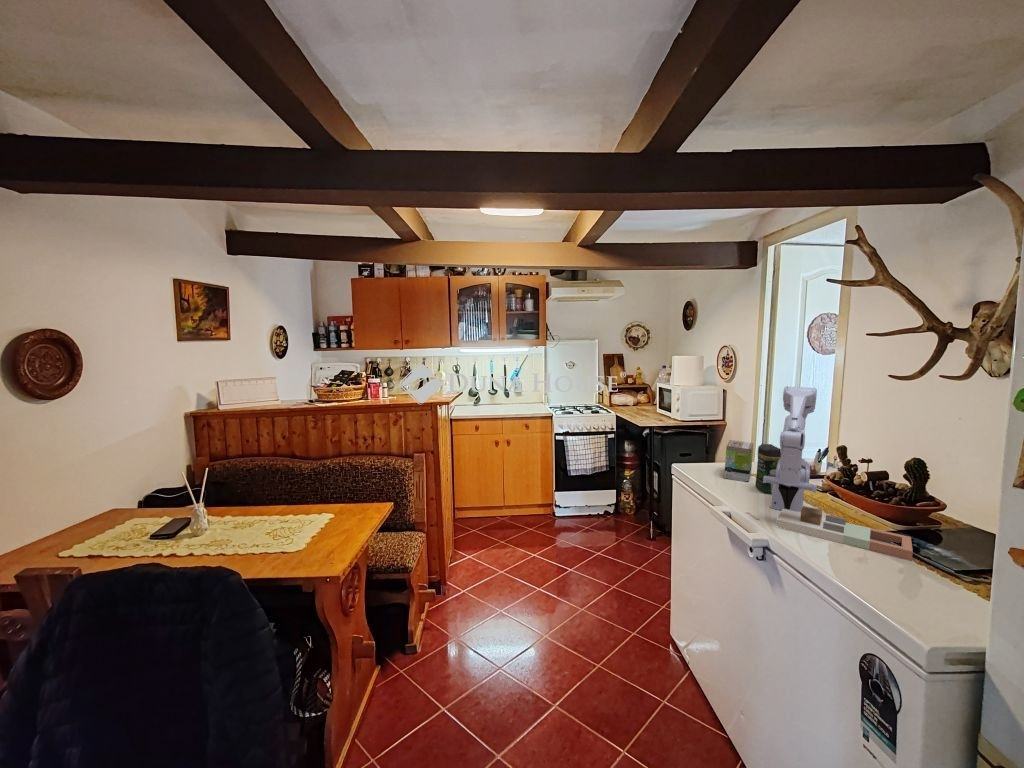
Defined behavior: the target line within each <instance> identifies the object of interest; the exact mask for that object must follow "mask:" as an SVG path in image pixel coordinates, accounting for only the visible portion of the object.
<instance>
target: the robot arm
mask: <svg viewBox="0 0 1024 768" xmlns="http://www.w3.org/2000/svg"><path fill="white" fill-rule="evenodd" d="M817 392H818V389H817V388H816V387H802V386H801V387H800V386H788V385H786V386H784V388H783V393H782V394H783V395H782V397H783V398H782V401H783V407H784V410H785V411H786V412H789V415H787V416H786V417H785V419H784V425H783V429H782V431H781V432H780V435H779V446H780V447H779V449H780V453H781V459H779V461H778V465H777V469H776V477H770V476H764V477H763V483H772V484H773V487H772V494H771V497H770V498H771V499H770V501H771V503H770V504H771V505H770V508H772V509H775V510H778V511H779V510H780V511H782V509H787V510H791V511H796V512H800V513H801V510H802V508H803V506H804V497H805V496H804V495H805V491H810V492H812V493H816V492H817V489H818V488H817V487H818V485H817V484H814V483H813V484H812V483H810V479H811V478H810V477H811V465H810V463H809V462H808V461H807V460H805V459H804V458H803V451H804V448H805V443H806V433H805V432H806V431H805V429H806V428H805V427H806V419H807V417H808V415H809V414H812V413H814V412H815V409H816V403H817Z"/></svg>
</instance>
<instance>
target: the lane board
mask: <svg viewBox="0 0 1024 768" xmlns="http://www.w3.org/2000/svg"><path fill="white" fill-rule="evenodd" d="M800 519H801V513H800V512H796V511H791V510H787V509H782V510H780V513H778V516H777V518H776V519H775V521H776V522H775V527H776V526H778V527H777V528H779V527H782V528H781V529H783V528H785V529H784V530H787V529H788V531H792V532H796V533H800V534H804V535H807V536H812V537H816V538H819V539H823V540H828V541H832V542H835V543H838V544H840V543H841V544H844V545H848V546H852V547H856V548H860V549H865V550H868V551H871V552H877V553H880V554H885V555H888V556H892V557H897V558H901V559H903V560H904V559H905V560H909V561H913V553H914V552H913V550H914V549H913V544H912V543H913V542H912V537H911V536H908V535H903V534H899V533H894V532H891V531H885V530H881V529H876V528H872V527H867V526H863V525H860V524H859V525H858V524H853V523H849V522H846V521H847V519H846V518H843V517H840V516H835V515H831V514H825V517H824V516H823V517H822V519H821V523H820V526H819V525H815V524H811V523H806V522H802V521H800ZM891 542H896V543H901V546H897V545H893V544H892V543H891Z"/></svg>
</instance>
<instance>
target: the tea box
mask: <svg viewBox="0 0 1024 768" xmlns="http://www.w3.org/2000/svg"><path fill="white" fill-rule="evenodd" d="M753 453H754V442H748V441H742V440H740V441H739V440H733V439H730V440H729V441H728V443H727V444H726V450H725V460H724V461H725V462H724V463H725V464H724V473H723V477H724V478H723V479H727V478H728V479H727V480H732V479H734V481H739V480H741V481H740V482H745V481H748V482H749V481H750V479H751V476H752V475H751V474H752V468H753V465H752V463H753Z"/></svg>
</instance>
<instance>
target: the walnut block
mask: <svg viewBox="0 0 1024 768" xmlns="http://www.w3.org/2000/svg"><path fill="white" fill-rule="evenodd" d="M822 516H823V509H819V508H814V507H810V506H805V505H803V508H802V510H801V519H800V521H802V522H806V523H811V524H815V525H819V526H820V523H821V519H822Z"/></svg>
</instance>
